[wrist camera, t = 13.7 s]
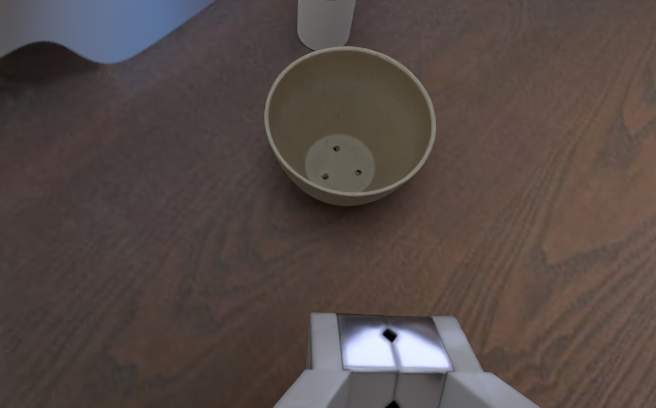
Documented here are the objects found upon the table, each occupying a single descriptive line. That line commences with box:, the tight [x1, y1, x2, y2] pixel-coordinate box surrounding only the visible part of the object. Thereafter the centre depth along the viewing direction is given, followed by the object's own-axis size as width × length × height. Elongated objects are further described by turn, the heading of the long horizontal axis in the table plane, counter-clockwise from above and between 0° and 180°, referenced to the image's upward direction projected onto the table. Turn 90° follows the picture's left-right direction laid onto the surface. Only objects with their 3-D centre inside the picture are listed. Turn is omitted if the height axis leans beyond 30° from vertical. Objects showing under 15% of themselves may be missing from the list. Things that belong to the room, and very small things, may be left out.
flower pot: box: [264, 46, 436, 206], centre depth 30 cm, size 10×10×7 cm
